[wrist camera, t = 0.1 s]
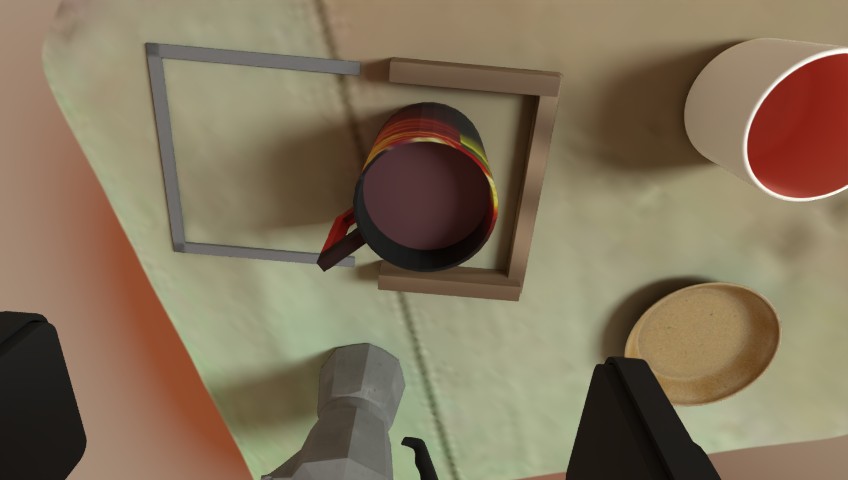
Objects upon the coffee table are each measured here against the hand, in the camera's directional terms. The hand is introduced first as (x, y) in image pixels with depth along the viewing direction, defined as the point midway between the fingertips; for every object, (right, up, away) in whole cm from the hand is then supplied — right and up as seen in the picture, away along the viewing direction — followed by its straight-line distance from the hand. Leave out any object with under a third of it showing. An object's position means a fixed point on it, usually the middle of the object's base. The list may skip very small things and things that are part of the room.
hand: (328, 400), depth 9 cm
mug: (+1, +8, +37) cm, 38 cm away
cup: (+28, +14, +33) cm, 46 cm away
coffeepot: (-4, -12, +47) cm, 48 cm away
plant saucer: (+29, -7, +43) cm, 52 cm away
